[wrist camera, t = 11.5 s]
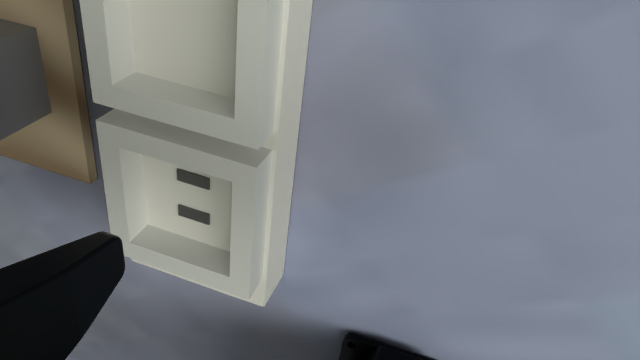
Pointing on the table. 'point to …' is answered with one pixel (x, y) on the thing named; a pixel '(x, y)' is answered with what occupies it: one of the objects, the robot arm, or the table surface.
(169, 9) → the power strip
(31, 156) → the cork pad
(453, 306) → the table surface
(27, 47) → the block
